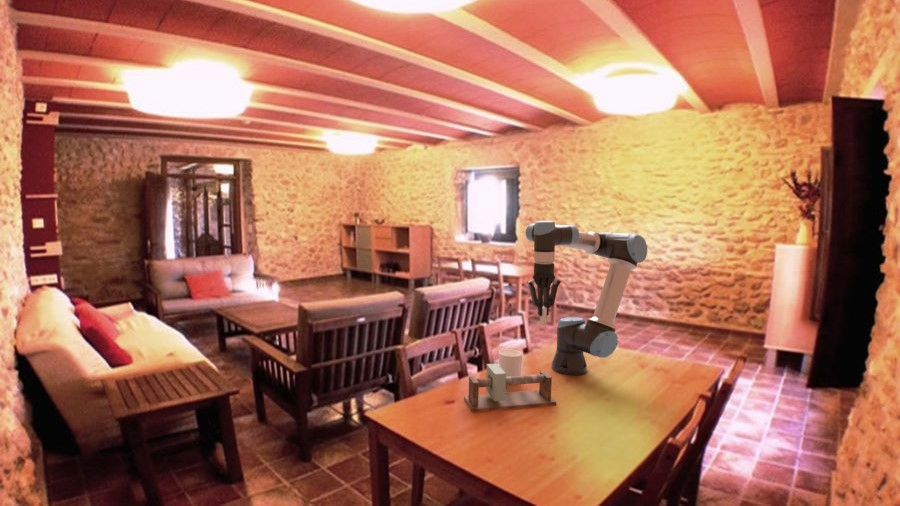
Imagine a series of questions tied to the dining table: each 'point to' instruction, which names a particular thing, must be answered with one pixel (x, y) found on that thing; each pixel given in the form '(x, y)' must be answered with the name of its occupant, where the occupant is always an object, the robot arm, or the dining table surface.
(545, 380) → the dowel stand
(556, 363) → the robot arm
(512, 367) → the candle holder
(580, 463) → the dining table surface
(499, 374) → the collar
